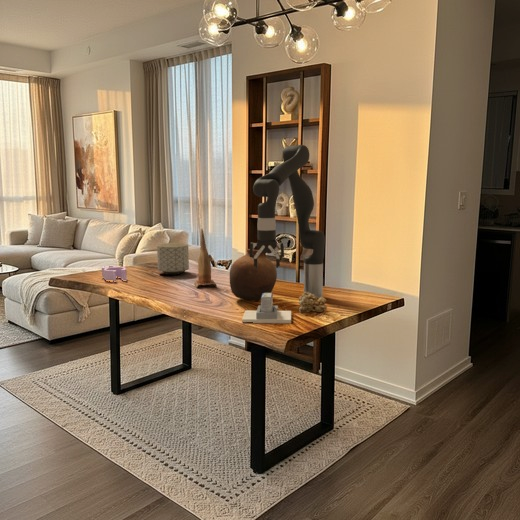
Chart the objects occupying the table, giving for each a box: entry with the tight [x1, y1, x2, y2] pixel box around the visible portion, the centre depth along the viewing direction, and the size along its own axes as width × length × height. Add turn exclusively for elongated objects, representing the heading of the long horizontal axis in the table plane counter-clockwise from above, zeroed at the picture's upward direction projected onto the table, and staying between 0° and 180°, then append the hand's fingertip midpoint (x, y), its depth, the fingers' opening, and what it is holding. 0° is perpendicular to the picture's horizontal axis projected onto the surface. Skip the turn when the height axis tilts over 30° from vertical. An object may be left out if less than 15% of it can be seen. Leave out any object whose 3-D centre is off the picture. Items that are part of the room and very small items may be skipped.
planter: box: [156, 242, 190, 275], centre depth 315 cm, size 19×19×18 cm
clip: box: [101, 265, 128, 281], centre depth 300 cm, size 20×12×7 cm, turn 39°
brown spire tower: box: [194, 228, 217, 289], centre depth 278 cm, size 11×12×32 cm
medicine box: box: [260, 292, 274, 312], centre depth 214 cm, size 8×4×9 cm, turn 175°
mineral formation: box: [298, 291, 328, 313], centre depth 228 cm, size 8×13×15 cm
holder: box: [241, 304, 292, 324], centre depth 215 cm, size 14×20×4 cm
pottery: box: [229, 248, 278, 302], centre depth 246 cm, size 23×23×25 cm
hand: (267, 267), depth 212 cm, fingers open, 8 cm apart
